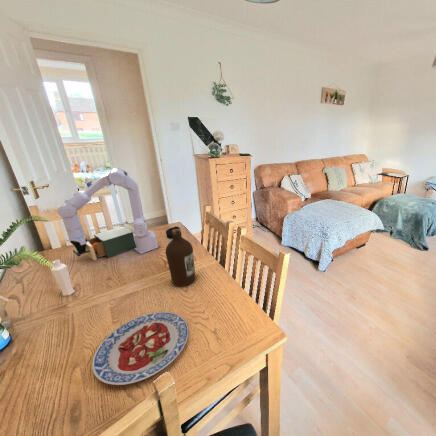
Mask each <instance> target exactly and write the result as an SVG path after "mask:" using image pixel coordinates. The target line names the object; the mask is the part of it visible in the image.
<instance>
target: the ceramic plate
mask: <svg viewBox="0 0 436 436" xmlns="http://www.w3.org/2000/svg"><path fill="white" fill-rule="evenodd" d="M188 339H189V326H188V323H187V321H186V320H185V319H184V318H183V317H182V316H180V315H179V314H177V313H173V312H169V311H155V312H151V313H146V314H143V315H140V316H137V317H135V318H132V319H131V320H128V321H126V322H125V323H123V324H121V325H120V326H118V327H117V328H115V330H113V331H112V332H111V333H109V334H108V335H107V336H106V337H105V338H104V339H103V340H102V342H101V343H100V344H99V346H98V347H97V349H96V351H94V352H95V353H94V355H93V358H92V362H91V368H92V373H93V374H94V376H95V377H96V379H98V380H99V381H100V382H102V383H105V384H106V385H113V386H125V385H131V384H134V383H138V382H141V381H143V380H146V379H148V378H150V377H152V376H154V375H156V374H158V373H159V372H161V371H162V370H164V369H165V368H167V367H168V366H169V365H170V364H171V363H172V362H173V361H174V360H175V359H176V358H177V357H178V356H179V355H180V354H181V352H182V350H183V349H184V348H185V346H186V343H187V341H188Z"/></svg>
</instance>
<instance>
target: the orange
mask: <svg viewBox="0 0 436 436" xmlns="http://www.w3.org/2000/svg"><path fill="white" fill-rule="evenodd" d="M97 243H99V242H95V243H93V244H92V246H93V249H94V252H97V250H96V246H95V244H97Z"/></svg>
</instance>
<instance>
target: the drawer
mask: <svg viewBox="0 0 436 436" xmlns="http://www.w3.org/2000/svg"><path fill="white" fill-rule="evenodd" d="M95 242H99V243H97V244H95V246H96V250H97V252H94V249H93V246H92V244H93V243H95ZM72 252H73V254H75V256H77V257H81V256H82V255H84V254H85V255H87V256H88V257H89V258H90V259H92V261H96V260H98V258H102V257H106V256H105V255H107V254H106V251H105V248H104V244H103V242H102V241H101V240H99V239H98V238H97V237H94V236H93V237H91V238H88V241H87V243H86V252H83V253H79V252H78V251H77V249H73V250H72ZM97 257H98V258H97Z"/></svg>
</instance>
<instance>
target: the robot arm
mask: <svg viewBox="0 0 436 436" xmlns="http://www.w3.org/2000/svg"><path fill="white" fill-rule="evenodd" d="M112 185H114V186H117V187H122V188H123V189H125V190H127V193H128V198H129V203H130V209H131V213H132V214H131V215H132V218H133V219H132V220H133V231H132V232H133V235H134V239H135V244H136V248H134V249H133V250H134V251H136V252H138V253H139V254H140V255H141V254H142V255H143V254H144V253H148V252H150V251H153V250H155V249H158V248H159V243H158V239H157V234H155V232H154V231H153V230H150V231H149V230H148V226H149V225H148V222H147V221H146V220H145V216H144V210H143V206H142V199H141V194H140V190H139V184H138V182H137V181H136V180H135V179H134V178H133V177H132V176H131V175H130V174H129V173H128V172H127V171H126V170H124V169H122V168H118V167H115V168H112V169H111V170H110V171H108V172H106V173H104V174H103V175H102V176H100V177H99V178H98V179H97V180H95V181H94V182H93V183H92V184H91V185H90V186H89V187H87V188H86V189H85V190H78V191H77V192H76V191H75V192H74V193H73V194H72V196H71V197H70V198H69V199H65V201H63V203H62V204H61V205H60V206H59V207H58V208H57V214H58V215H59V216H60V217H61V218H62V222H63V225H64V228H65V230H66V233H67V238H65V241H66V242H69V243H70V244H71V245H73V246H74V247H75V250H77V251H78V252H79V253H83V252H86V243H87V242H88V239H87V238H86V237H87V236H86V233H85V231H84V228H83V225H82V221H81V218H80V217H79V214H78V213H79V212H78V211H79V210H81V209H83V208H84V206H86V205H87V204H88V203H90V202H91V201H92V196H93V195H95V194H96V193H97V192H98V191H100V190H101V189H102V188H104V187H105V186H112Z"/></svg>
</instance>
